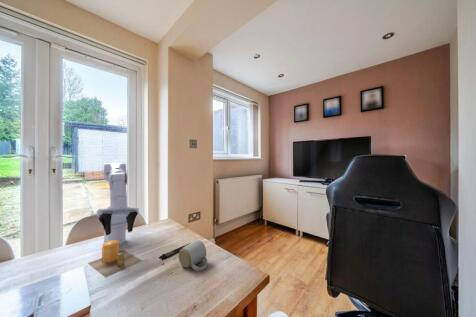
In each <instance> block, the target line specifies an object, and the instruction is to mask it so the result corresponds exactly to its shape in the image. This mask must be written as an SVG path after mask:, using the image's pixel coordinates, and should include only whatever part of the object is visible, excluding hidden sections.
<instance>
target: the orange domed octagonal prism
mask: <svg viewBox="0 0 476 317" xmlns="http://www.w3.org/2000/svg"><path fill="white" fill-rule="evenodd" d="M119 251H120V244H119V241H118V240H111V241H108V242H104V243H103V244H102V247H101V258H102V261H103V262H111V261H114V260H116V259H117V255H118V254H119Z"/></svg>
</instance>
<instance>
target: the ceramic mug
mask: <svg viewBox="0 0 476 317" xmlns="http://www.w3.org/2000/svg"><path fill="white" fill-rule="evenodd" d="M189 243H190V244H189ZM189 243H188V244H189V245H187V244H186V245H187V246H185V247H183V248H182V249H181V250H180V252H179V253H178V260H179V263H180V265H181V266H182V267H184V269H185V268H187V269H188V268H192V269H194V270H195V271H197V272H198V271H199V272H202V271H203V270H205V269H206V268H207V267H208V258H207V253H208V252H207V248H206V245H205V244H204V242H203V241H201V239H196V240H193V241H192V242H189ZM202 261H204V262H205V264H204V266H201V267H198V266H197V264H199V263H201V262H202Z"/></svg>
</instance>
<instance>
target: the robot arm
mask: <svg viewBox="0 0 476 317" xmlns="http://www.w3.org/2000/svg"><path fill="white" fill-rule="evenodd" d="M103 174H104V177H103V178H104V180H105V181H107V182H108V186H109V194H110V196H109V197H110V199H109V200H110V206H108V207H107V208H102V209H98V210H97V211H96V217H98V221H99V223H101V225H102V227H103V229H104V232H103V241H104V243H105V242H108V241H111V240H118V241H119V245H121V244H123V243H125V242H126V238H127V235H126V233H132V232H133V228H134V224H135V220H136V218H137V216H138V214H139V213H140V212H139V208H138V207H130V206H128V197H127V196H128V195H127V194H128V192H127V185H128V173H127V164H126V163H125V162H112V163H111V162H105V163H103ZM126 230H127V231H126Z"/></svg>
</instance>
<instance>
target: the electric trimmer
mask: <svg viewBox="0 0 476 317" xmlns="http://www.w3.org/2000/svg"><path fill="white" fill-rule="evenodd" d="M190 243H191V242H189V243H186V244H184V245H182V246H180V247H177V248H175V249H173V250H171V251H169V252H166V253H163V254H161V255H160V256H158V259H160V260H161V261H165V260H167V259H169V258H171V257H173V256H176V255H177V254H179V252H180V250H181V249H182V248H183V247H185V246H187V245H189V244H190ZM162 265H164V263H161V266H162Z"/></svg>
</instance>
